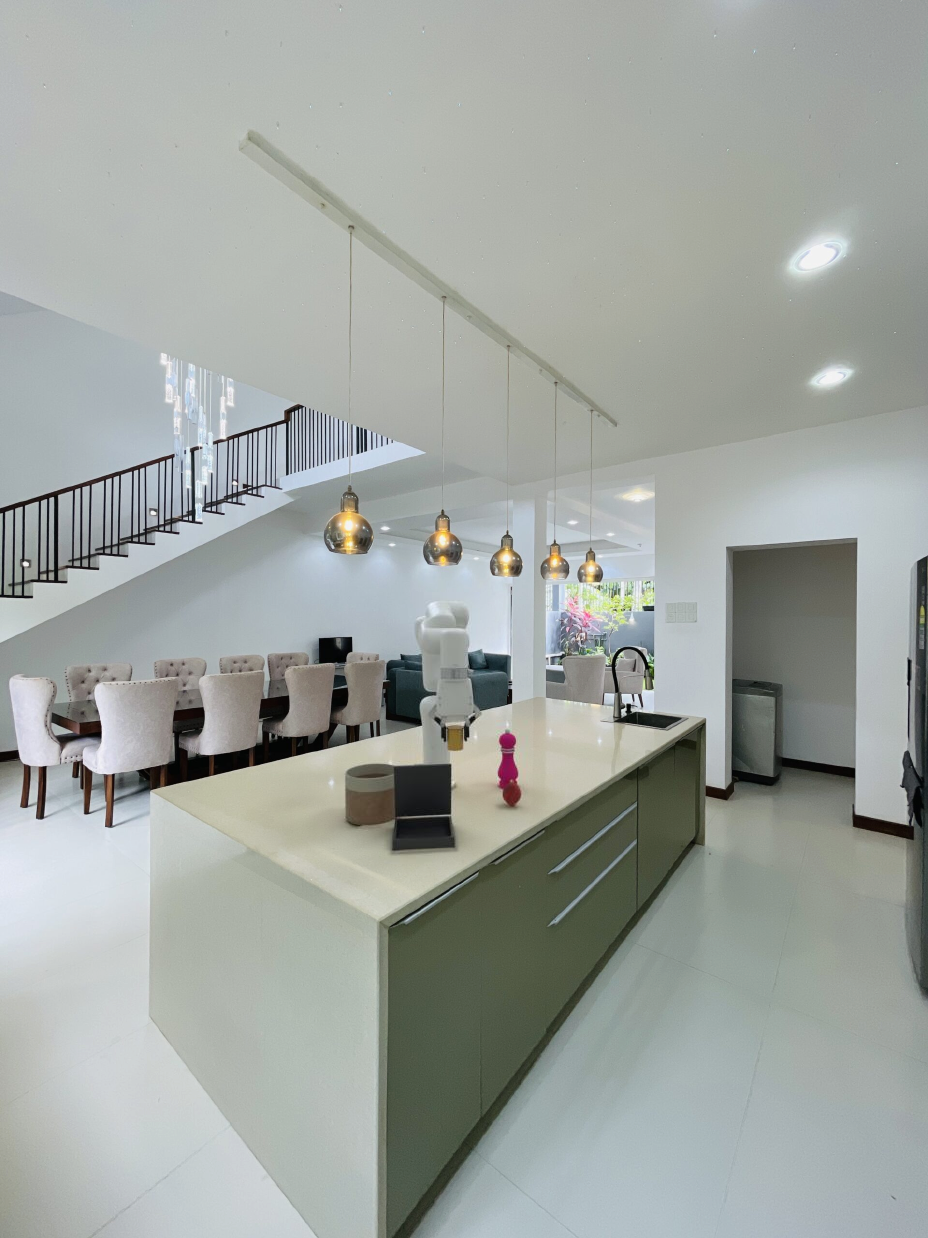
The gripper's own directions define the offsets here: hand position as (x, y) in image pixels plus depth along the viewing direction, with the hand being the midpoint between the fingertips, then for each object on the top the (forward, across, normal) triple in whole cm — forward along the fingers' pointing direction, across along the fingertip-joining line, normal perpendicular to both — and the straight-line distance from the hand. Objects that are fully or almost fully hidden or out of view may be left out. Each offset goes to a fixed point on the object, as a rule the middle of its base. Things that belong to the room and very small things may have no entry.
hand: (455, 740), depth 141 cm
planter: (+25, +24, -13) cm, 37 cm away
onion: (+25, -18, -18) cm, 36 cm away
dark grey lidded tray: (+25, +9, +4) cm, 27 cm away
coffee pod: (+2, 0, 0) cm, 2 cm away
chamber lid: (+14, +9, -1) cm, 17 cm away
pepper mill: (+26, -20, -37) cm, 49 cm away
